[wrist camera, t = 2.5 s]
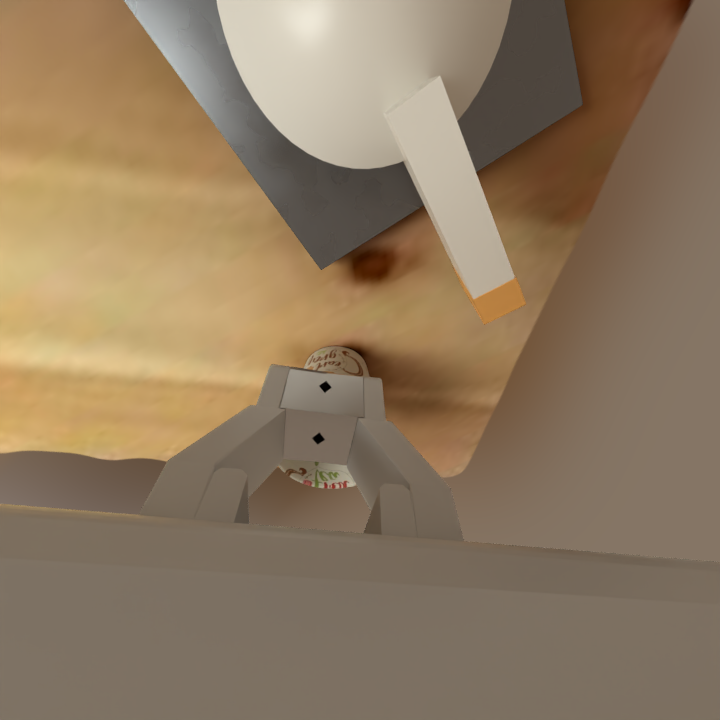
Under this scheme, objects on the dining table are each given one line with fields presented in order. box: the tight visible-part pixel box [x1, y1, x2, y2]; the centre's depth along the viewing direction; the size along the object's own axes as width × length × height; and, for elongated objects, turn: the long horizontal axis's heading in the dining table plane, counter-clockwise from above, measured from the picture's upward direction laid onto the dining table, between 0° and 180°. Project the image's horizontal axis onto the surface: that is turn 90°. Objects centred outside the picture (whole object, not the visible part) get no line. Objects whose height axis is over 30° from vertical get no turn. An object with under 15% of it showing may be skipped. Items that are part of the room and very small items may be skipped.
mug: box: [278, 346, 370, 488], centre depth 30 cm, size 8×13×10 cm, turn 162°
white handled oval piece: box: [217, 0, 526, 325], centre depth 14 cm, size 18×10×5 cm, turn 32°
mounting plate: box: [124, 0, 583, 270], centre depth 16 cm, size 18×18×6 cm
